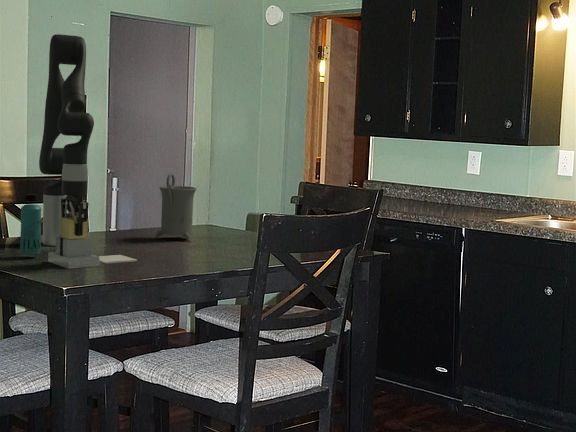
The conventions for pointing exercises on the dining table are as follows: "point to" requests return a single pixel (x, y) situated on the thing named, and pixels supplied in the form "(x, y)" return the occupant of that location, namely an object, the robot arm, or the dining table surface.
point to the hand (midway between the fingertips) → (73, 234)
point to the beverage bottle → (30, 226)
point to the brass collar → (72, 228)
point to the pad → (115, 259)
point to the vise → (73, 253)
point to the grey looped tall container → (176, 209)
